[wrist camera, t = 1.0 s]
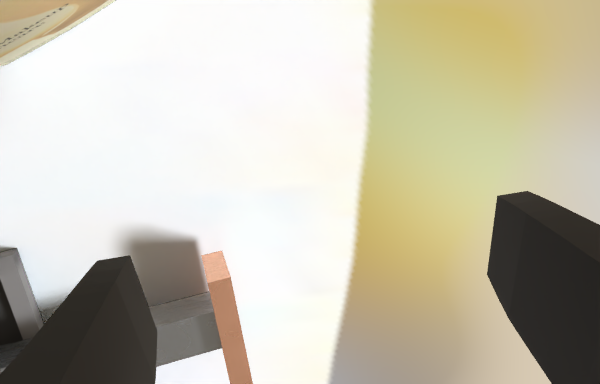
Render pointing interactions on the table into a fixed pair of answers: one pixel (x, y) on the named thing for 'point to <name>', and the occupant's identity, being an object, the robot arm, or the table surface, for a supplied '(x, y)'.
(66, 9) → the skincare box
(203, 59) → the table surface
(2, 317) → the pit trap
